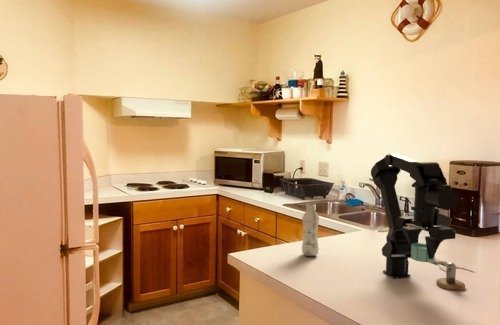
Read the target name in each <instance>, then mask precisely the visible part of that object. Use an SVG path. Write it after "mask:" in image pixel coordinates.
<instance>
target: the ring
mask: <svg viewBox="0 0 500 325" xmlns="http://www.w3.org/2000/svg"><path fill="white" fill-rule="evenodd" d="M435 256H436V254H435V255H434V257H433V259H429V256H428V252H427V246H426V242H425V243H424V242H418V243H412V245H411V258H410V259H411V260H414V261H416V262H421V263H431V262H434V260H435V258H436V257H435Z"/></svg>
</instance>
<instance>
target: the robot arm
mask: <svg viewBox="0 0 500 325" xmlns="http://www.w3.org/2000/svg"><path fill="white" fill-rule="evenodd" d="M401 171H404V172H405V173H408V174H409V177H410V178H411V179H413V180H414V182H413V183H411V187H412V188H414V205H412V206H410V210H411V211H413V216H409V215H407V216H403V215H402V211H401V208H400V204H399V199H398V195H397V191H396V184H397V181H398V175H399V174H400V173H401ZM370 176H371V177H372V180H373V184H374V185H375V186H376V187H377V188H378V190H380V193H381V194H380V195H381V199H382V202H383V207H384V211H385V212H384V213H385V216H386V220H387V225H388V231H387V234H386V243H385V244H384V245H383V247H381V255H382V256H384V257H385V259H386V260H385V261H386V262H385V269H383V270H382V273H384V274H386V275H388V276H390V277H391V278H393V279H401V278H402V279H403V278H410V277H412V276H411V274H409V261H410V260H409V259H411V245H412V243H419V238H420V237H419V235H420V234H421V232H422V231H425V232H428V236H424V240H425V243H426V246H427V252H428V256H429V259H433V257H434V255H435V256H436V252H438V251H437V250H438V249H439V246H440V245H441V243H443V242H444V241H445V240H446V241H447V240H453V239H456V234H457V233H456V230H455V229H454V228H452V227H450V225H451V222H452V220H453V218H452V217H450V216H447V215H445V214H443V213H440V210H442V211H443V210H444V211H450V210H453V209H454V208H455V206H456V205H457V203H458V197H457V194H456V193H455V191H453V190H452V186H451V185H449V184H448V182H447V181H448V180H447V178H446V176H445V175H444V172H443V170H442V168H441V166H440V164H439V162H437V161H420V160H417V159H413V158H411V157H408V156H404V155H402V154H401V153H388V154H386V155H385V156H384V158H382V159H380V160H378V161H377V162H375V163H374V165H373V166H372V167H371V170H370Z"/></svg>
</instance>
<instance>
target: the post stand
mask: <svg viewBox="0 0 500 325" xmlns="http://www.w3.org/2000/svg"><path fill="white" fill-rule="evenodd" d="M447 263H448V264H447V270H446V272H445V274H446V275H445V277H440V278H437V279H436V281H435V282H436V285H437V286H438V287H439V288H442V289H444V290H447V289H448V290H449V291H453V292H457V291H458V292H459V291H464V290H465V289H466V284H465V283H464V282H463V281H461V280H458V279H456V277H457V276H456V273H457V268H456V266H455V265H456V264H455V263H453V262H447Z"/></svg>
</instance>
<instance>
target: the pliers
mask: <svg viewBox="0 0 500 325" xmlns="http://www.w3.org/2000/svg"><path fill="white" fill-rule="evenodd" d="M436 263H437V264H436ZM448 263H449V262H447V260H442V259H439V258H438V257H435V260H434V262H432V263H431V264H436V266H438V268H439V270H441V271H443V272H444V271H445V273H446V270H447V264H448ZM441 264H442V265H441ZM444 266H445V267H444ZM455 266H456V269H462V270H465V271H468V272H470V273H471V272H472V273H475V271H474V270H473V269H471V268H468V267H465V266H461V265H457V264H455Z"/></svg>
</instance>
